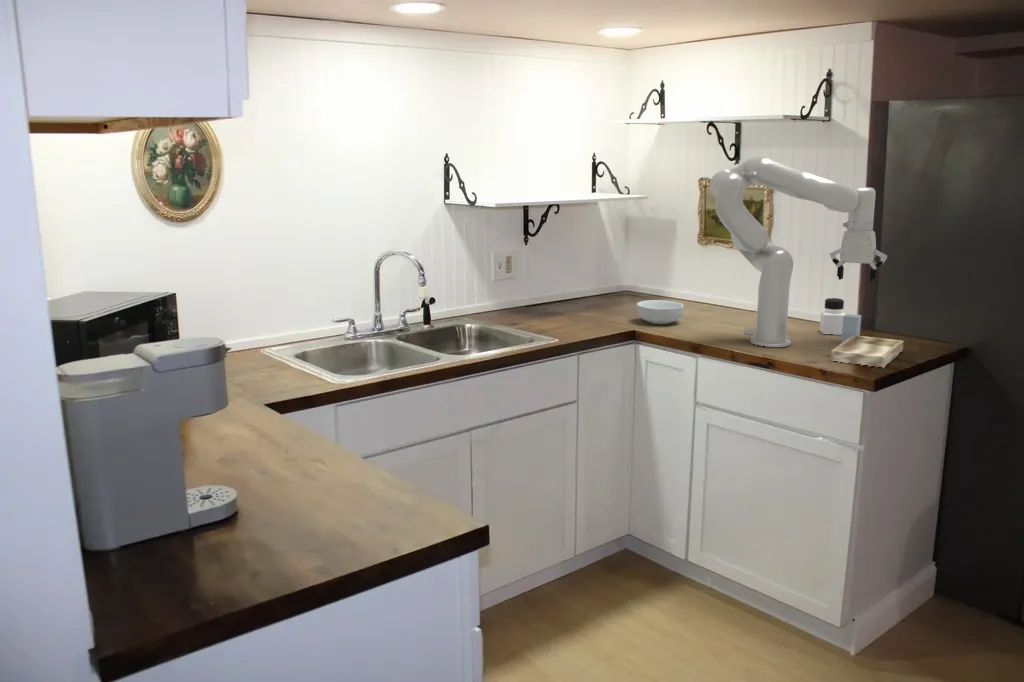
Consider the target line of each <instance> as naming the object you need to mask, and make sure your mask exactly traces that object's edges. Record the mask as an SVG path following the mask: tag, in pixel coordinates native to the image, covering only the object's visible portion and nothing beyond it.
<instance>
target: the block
mask: <svg viewBox="0 0 1024 682" xmlns="http://www.w3.org/2000/svg"><path fill="white" fill-rule="evenodd" d="M861 322H862V315H861V314H854V313H852V314H851V313H845V315H844V316H843V327H842V335H841V340H840V342H841V343H843V342H844V341H846V340H847V339H849V338H850V337H851V336H853V335H857V336H861V335H860V333H861ZM841 343H840V344H841Z"/></svg>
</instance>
